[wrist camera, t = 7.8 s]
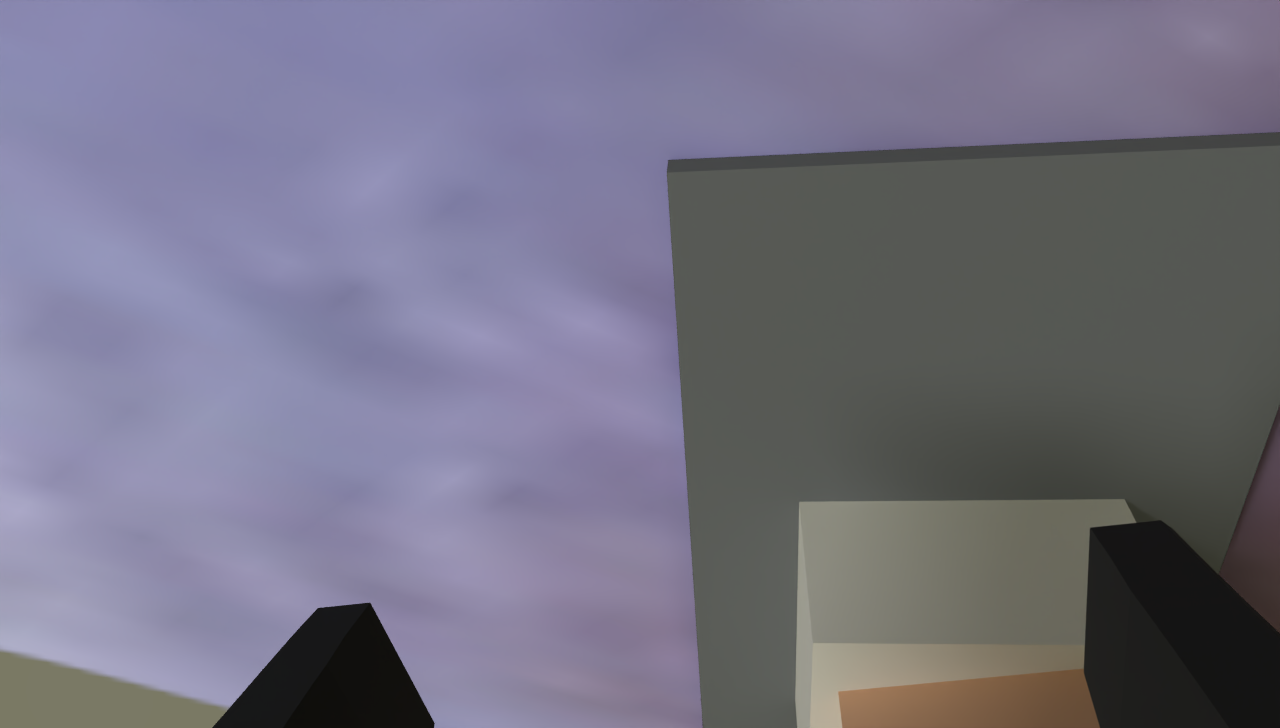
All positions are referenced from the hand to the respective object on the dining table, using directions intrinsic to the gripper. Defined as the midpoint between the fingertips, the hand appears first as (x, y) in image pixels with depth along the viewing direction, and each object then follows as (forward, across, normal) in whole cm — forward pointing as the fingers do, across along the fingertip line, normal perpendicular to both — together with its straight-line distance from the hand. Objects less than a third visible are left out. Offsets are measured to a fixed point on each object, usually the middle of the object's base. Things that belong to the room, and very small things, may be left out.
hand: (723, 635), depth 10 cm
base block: (+10, -3, +11) cm, 15 cm away
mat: (+10, -4, +9) cm, 14 cm away
